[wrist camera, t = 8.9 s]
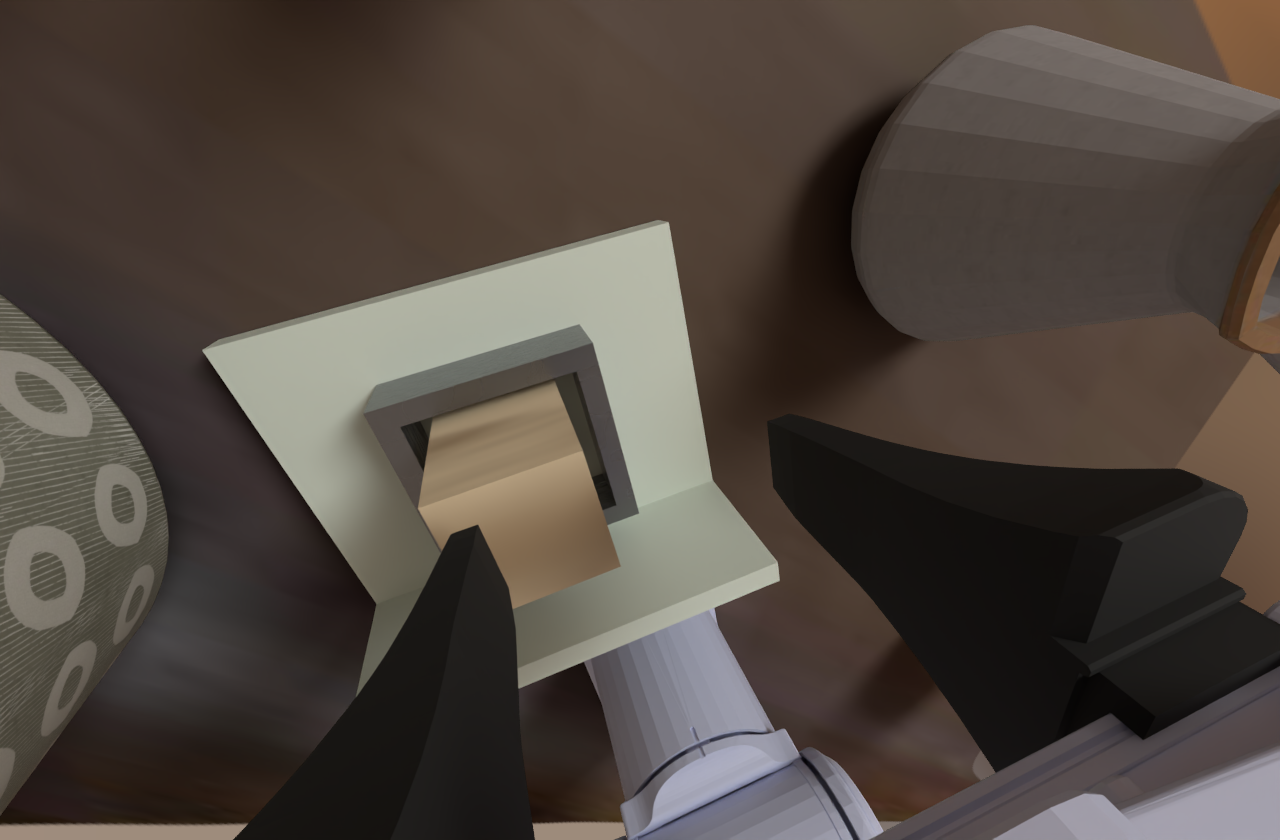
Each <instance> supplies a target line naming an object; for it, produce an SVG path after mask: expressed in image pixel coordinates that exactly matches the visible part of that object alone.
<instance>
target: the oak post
mask: <svg viewBox="0 0 1280 840" xmlns="http://www.w3.org/2000/svg"><path fill="white" fill-rule="evenodd" d="M418 510H419V511H420V513H421V515H422V517H423V519H424V520H425V522H426V524H427V526H428V527H429V529H430V531H431V533H432V534H433V536H434V538H435V540H436V541H437V543H438V545H439V547H440V549H441V550H443V548H444V546H445V544H446V542H447V540H448V538H449V537H450V535H451V534H452V533H455V532H458V531H461V530H464V529H466V528H469V527H472V526H475V525H479V527H480V529H481V532H482V534H483V536H484V538H485V540H486V542H487V544H488V546H489V548H490V550H491V552H492V554H493V556H494V558H495V560H496V562H497V565H498V567H499V569H500V571H501V573H502V575H503V577H504V579H505V581H506V583H507V585H508V587H509V592H510V597H511V603H512V608H513V609H515V608H517V607H520V606H522V605H525V604H527V603H530V602H532V601H535V600H537V599H540V598H542V597H545V596H547V595H550V594H553V593H555V592H558V591H560V590H563V589H565V588H568V587H570V586H573V585H575V584H578V583H580V582H583V581H585V580H588V579H591V578H593V577H596V576H598V575H601V574H603V573H606V572H608V571H611V570H613V569H616V568H618V567H621V565H620V562H619V559H618V556H617V553H616V550H615V547H614V544H613V541H612V538H611V535H610V532H609V529H608V526H607V523H606V520H605V517H604V513H603V510H602V507H601V504H600V501H599V498H598V495H597V492H596V489H595V486H594V483H593V480H592V477H591V474H590V471H589V468H588V465H587V462H586V459H585V456H584V453H583V450H582V448H581V445H580V443H579V440H578V438H577V435H576V433H575V430H574V428H573V425H572V423H571V420H570V418H569V415H568V413H567V410H566V408H565V405H564V403H563V400H562V398H561V396H560V393H559V391H558V388H557V386H556V383H555V381H554V379H551V380H547V381H544V382H541V383H538V384H535V385H532V386H528V387H525V388H522V389H519V390H516V391H513V392H509V393H506V394H503V395H500V396H497V397H494V398H490V399H487V400H484V401H481V402H478V403H474V404H471V405H468V406H465V407H462V408H459V409H455V410H452V411H449V412H446V413H443V414H440V415H436V416H433V419H432V425H431V431H430V437H429V444H428V450H427V456H426V462H425V468H424V474H423V480H422V486H421V492H420V499H419V505H418Z"/></svg>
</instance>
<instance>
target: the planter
mask: <svg viewBox="0 0 1280 840" xmlns="http://www.w3.org/2000/svg"><path fill="white" fill-rule="evenodd" d="M168 543H169V532H168V518H167V511H166V507H165V502H164V498H163V493H162V489H161V486H160V484H159V481H158V478H157V475H156V473H155V470H154V467H153V464H152V462H151V460H150V458H149V456H148V454H147V452H146V450H145V449H144V447H143V445H142V443H141V441H140V439H139V437H138V435H137V434H136V432H135V431H134V429H133V428H132V426H131V425H130V423H129V422H128V420H127V419H126V417H125V416H124V414H123V413H122V411H121V409H120V408H119V407H118V406H117V404H116V403H115V402H114V401H113V399H112V398H111V397H110V396H109V394H108V393H107V392H106V391H105V390H104V388H103V387H102V386H101V385H100V383H99V382H98V381H97V380H96V379H95V378H94V377H93V376H92V374H91V373H90V372H89V371H88V370H87V369H86V368H85V367H84V366H83V365H82V364H81V363H80V362H79V361H78V360H77V359H76V358H75V357H74V356H73V355H72V354H71V353H70V352H69V351H68V350H67V349H66V348H65V347H64V346H63V345H62V344H61V343H60V342H58V341H57V340H56V339H55V338H54V337H53V336H52V335H51V334H49V333H48V332H47V331H46V330H45V329H44V328H43V327H42V326H40V325H39V324H38V323H37V322H36V321H35V320H34V319H32V318H31V317H30V316H28V315H27V314H26V313H25V312H23V311H22V310H21V309H19V308H18V307H17V306H15V305H14V304H13V303H12V302H10V301H9V300H8V299H6V298H5V297H4V296H2V295H1V294H0V815H1V814H2V813H3V811H4V810H5V809H6V807H7V806H8V804H9V803H10V802H11V800H12V799H13V798H14V796H15V795H16V794H17V792H18V791H19V790H20V788H21V787H22V786H23V784H24V783H25V781H26V780H27V779H28V777H29V776H30V775H31V773H32V772H33V771H34V769H35V768H36V767H37V765H38V764H39V763H40V761H41V760H42V758H43V757H44V756H45V754H46V753H47V752H48V750H49V749H50V748H51V746H52V745H53V744H54V742H55V741H56V739H57V738H58V737H59V735H60V734H61V733H62V731H63V730H64V729H65V727H66V726H67V725H68V723H69V722H70V721H71V719H72V718H73V716H74V715H75V714H76V712H77V711H78V710H79V708H80V707H81V706H82V704H83V703H84V702H85V700H86V699H87V698H88V696H89V695H90V693H91V692H92V691H93V689H94V688H95V687H96V685H97V684H98V683H99V681H100V680H101V679H102V677H103V676H104V675H105V673H106V672H107V670H108V669H109V668H110V666H111V665H112V664H113V662H114V661H115V660H116V658H117V657H118V656H119V654H120V653H121V652H122V650H123V649H124V647H125V646H126V645H127V643H128V642H129V641H130V639H131V638H132V637H133V635H134V634H135V633H136V631H137V630H138V629H139V627H140V626H141V624H142V623H143V621H144V619H145V618H146V616H147V614H148V613H149V611H150V609H151V608H152V606H153V604H154V601H155V599H156V596H157V594H158V591H159V589H160V586H161V584H162V580H163V576H164V571H165V567H166V563H167V556H168Z"/></svg>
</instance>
